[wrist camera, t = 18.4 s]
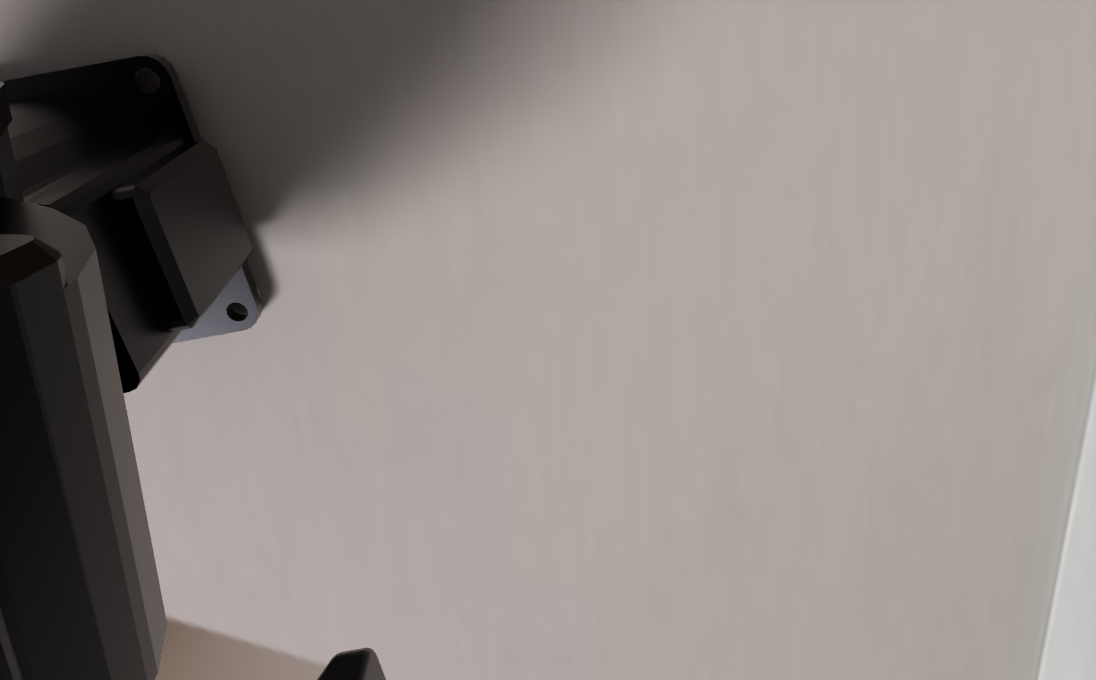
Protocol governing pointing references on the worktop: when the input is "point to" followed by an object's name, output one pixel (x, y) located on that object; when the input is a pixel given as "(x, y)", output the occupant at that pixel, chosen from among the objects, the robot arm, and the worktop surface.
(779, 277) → the worktop surface
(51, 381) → the robot arm
